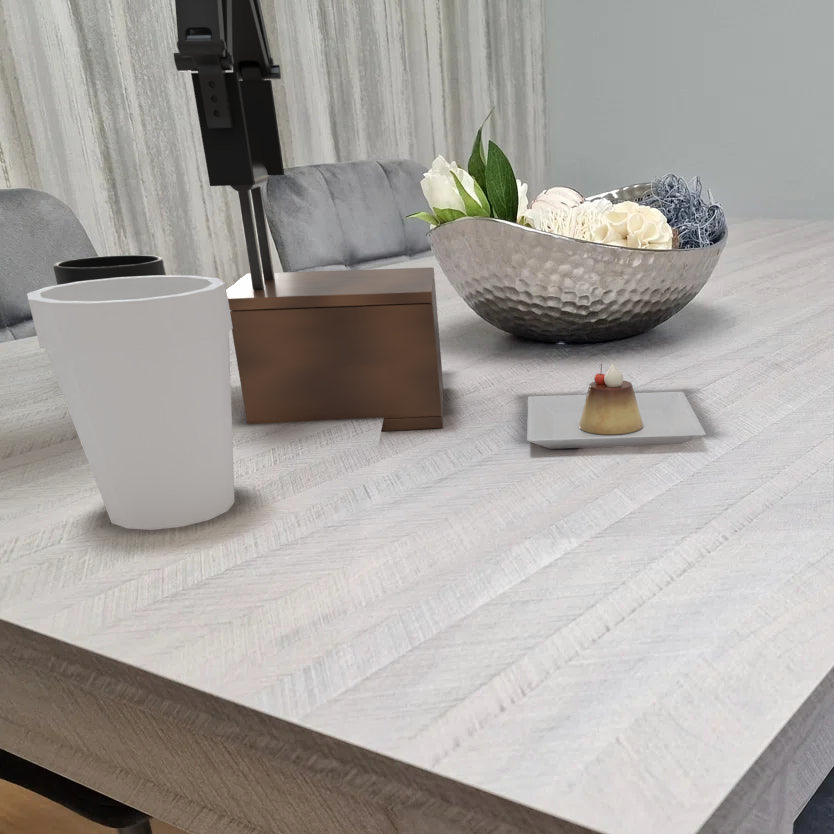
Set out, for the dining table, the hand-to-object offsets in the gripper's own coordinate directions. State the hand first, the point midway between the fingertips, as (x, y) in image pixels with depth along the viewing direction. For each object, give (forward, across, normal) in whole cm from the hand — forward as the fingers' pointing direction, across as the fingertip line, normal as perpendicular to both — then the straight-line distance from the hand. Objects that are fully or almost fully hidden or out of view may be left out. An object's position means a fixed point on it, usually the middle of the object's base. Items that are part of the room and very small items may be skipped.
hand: (250, 180), depth 73 cm
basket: (+17, 0, -5) cm, 18 cm away
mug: (+17, +23, +18) cm, 34 cm away
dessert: (+17, -9, -24) cm, 31 cm away
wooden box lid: (+8, 0, -5) cm, 9 cm away
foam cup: (+17, -24, +3) cm, 30 cm away
